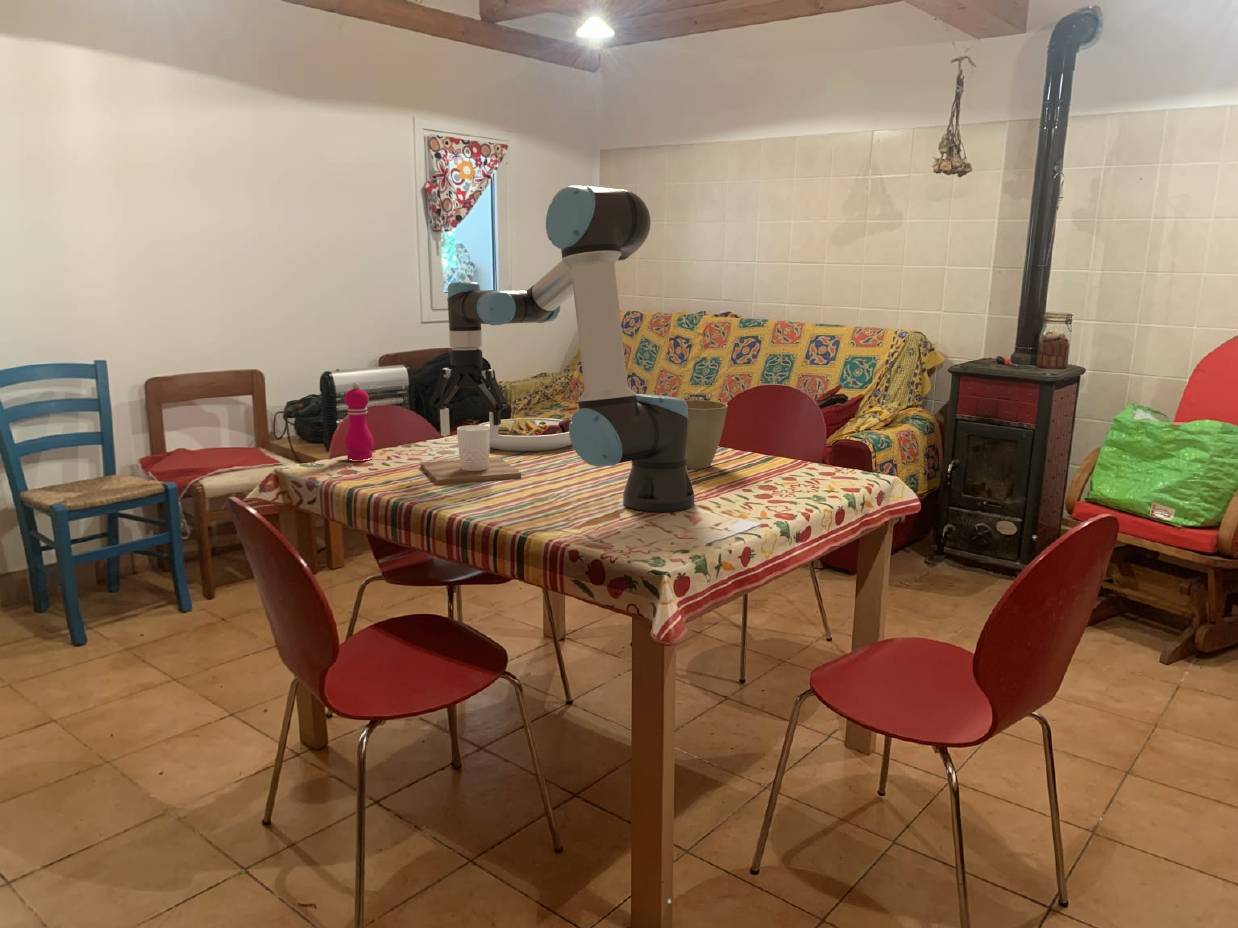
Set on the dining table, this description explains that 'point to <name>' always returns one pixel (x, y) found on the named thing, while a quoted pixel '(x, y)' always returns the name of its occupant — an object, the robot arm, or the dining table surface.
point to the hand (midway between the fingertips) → (469, 437)
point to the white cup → (474, 447)
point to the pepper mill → (358, 425)
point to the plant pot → (704, 431)
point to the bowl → (531, 434)
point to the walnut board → (454, 474)
